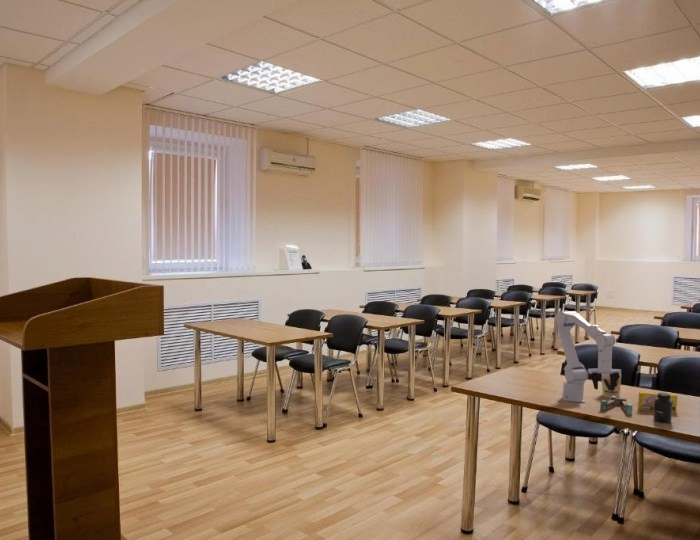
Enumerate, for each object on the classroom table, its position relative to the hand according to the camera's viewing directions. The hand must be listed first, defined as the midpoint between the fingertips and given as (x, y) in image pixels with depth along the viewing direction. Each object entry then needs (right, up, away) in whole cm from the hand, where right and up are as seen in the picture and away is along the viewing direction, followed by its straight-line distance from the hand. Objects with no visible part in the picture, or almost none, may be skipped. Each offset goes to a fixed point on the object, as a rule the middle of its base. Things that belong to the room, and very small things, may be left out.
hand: (604, 389), depth 251 cm
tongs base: (+9, -10, +3) cm, 14 cm away
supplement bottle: (+19, -11, -14) cm, 26 cm away
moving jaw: (+3, -10, +3) cm, 11 cm away
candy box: (+26, -11, +2) cm, 28 cm away
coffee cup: (+16, -9, +26) cm, 32 cm away
